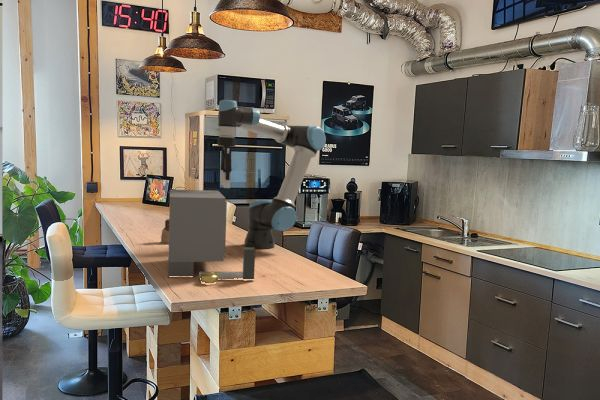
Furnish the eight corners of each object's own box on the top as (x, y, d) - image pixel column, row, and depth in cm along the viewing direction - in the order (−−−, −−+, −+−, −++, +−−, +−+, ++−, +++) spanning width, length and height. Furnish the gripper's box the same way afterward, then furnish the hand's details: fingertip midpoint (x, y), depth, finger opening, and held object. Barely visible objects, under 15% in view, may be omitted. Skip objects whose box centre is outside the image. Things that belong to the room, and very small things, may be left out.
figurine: (177, 241, 246) (177, 218, 245) (174, 244, 239) (174, 220, 238) (163, 241, 246) (163, 217, 244) (159, 244, 239) (159, 219, 237)
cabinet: (219, 259, 213) (222, 190, 210) (227, 276, 187) (229, 198, 183) (168, 260, 208) (169, 189, 205) (168, 277, 181) (170, 197, 178)
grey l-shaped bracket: (253, 278, 186) (254, 247, 185) (253, 281, 182) (255, 249, 181) (199, 278, 182) (200, 246, 181) (198, 281, 179) (199, 249, 177)
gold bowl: (217, 281, 181) (217, 273, 181) (217, 285, 175) (218, 277, 175) (200, 280, 180) (200, 272, 179) (200, 285, 174) (200, 277, 174)
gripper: (215, 136, 221) (213, 183, 223) (220, 136, 197) (219, 188, 199) (232, 137, 223) (230, 184, 225) (239, 137, 199) (237, 189, 201)
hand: (225, 186), depth 212 cm, fingers open, 13 cm apart
